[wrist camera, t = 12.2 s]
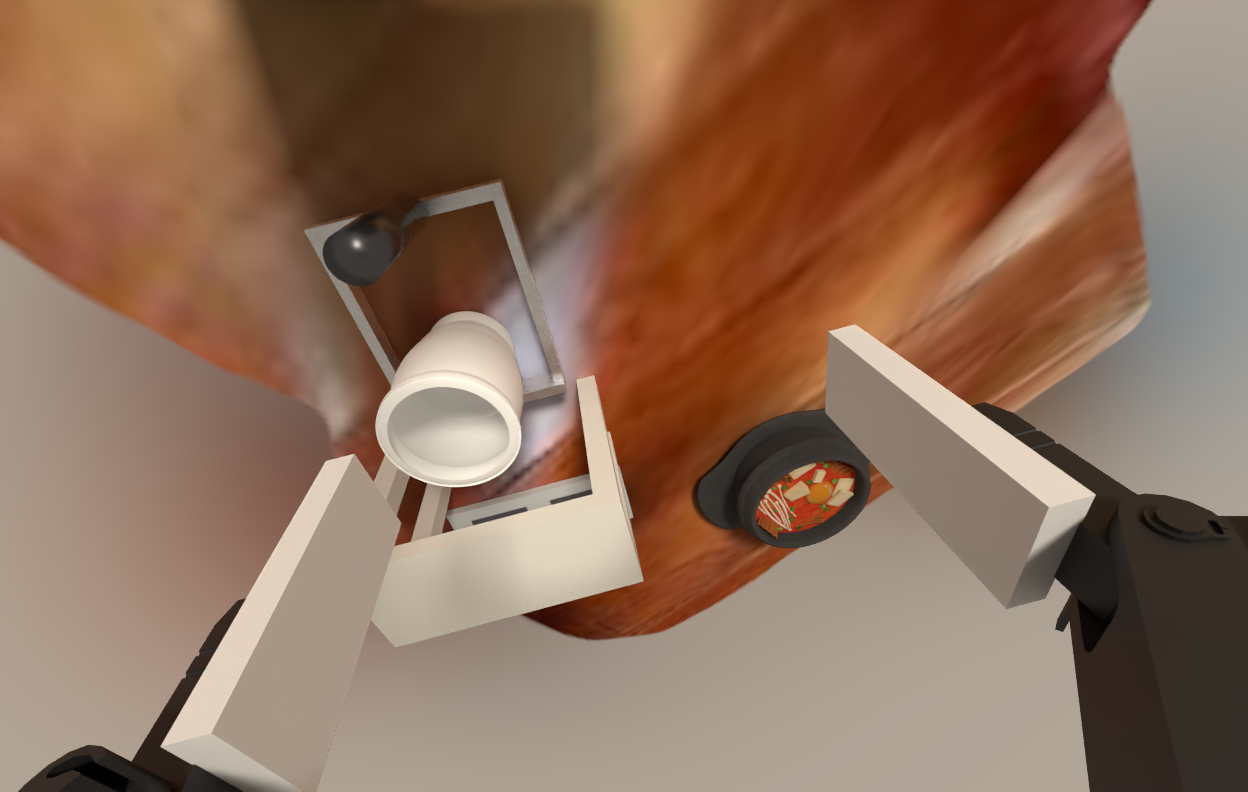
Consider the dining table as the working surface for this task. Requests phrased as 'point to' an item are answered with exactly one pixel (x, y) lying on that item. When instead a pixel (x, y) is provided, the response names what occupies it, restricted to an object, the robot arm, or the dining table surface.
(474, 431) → the jar
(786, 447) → the casserole
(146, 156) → the dining table surface
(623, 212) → the dining table surface
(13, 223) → the dining table surface
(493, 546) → the open rectangular frame
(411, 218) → the picture frame
